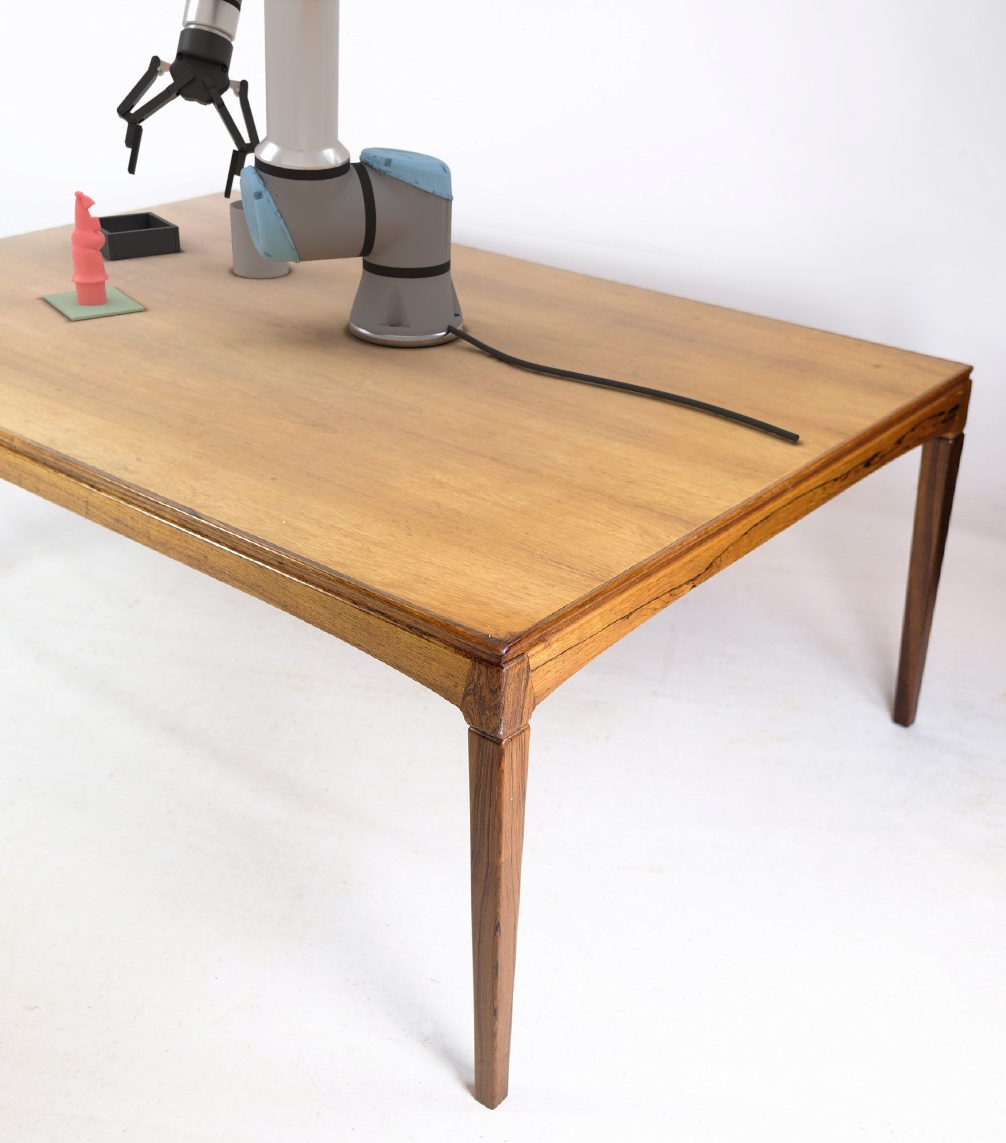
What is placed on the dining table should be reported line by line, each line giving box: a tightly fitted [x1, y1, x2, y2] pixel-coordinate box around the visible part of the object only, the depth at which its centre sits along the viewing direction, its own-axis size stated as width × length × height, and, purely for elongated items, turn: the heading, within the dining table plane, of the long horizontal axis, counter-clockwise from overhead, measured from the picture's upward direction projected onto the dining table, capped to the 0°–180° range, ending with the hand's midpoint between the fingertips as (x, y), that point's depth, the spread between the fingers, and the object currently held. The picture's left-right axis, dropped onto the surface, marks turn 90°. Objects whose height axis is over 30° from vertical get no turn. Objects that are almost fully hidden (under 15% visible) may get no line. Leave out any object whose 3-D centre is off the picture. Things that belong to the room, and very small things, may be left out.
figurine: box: [70, 190, 109, 305], centre depth 176 cm, size 5×5×15 cm
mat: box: [42, 286, 145, 322], centre depth 180 cm, size 12×10×1 cm
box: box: [97, 211, 181, 261], centre depth 206 cm, size 12×12×4 cm
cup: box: [229, 199, 290, 279], centre depth 196 cm, size 8×8×10 cm
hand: (179, 185), depth 185 cm, fingers open, 13 cm apart
